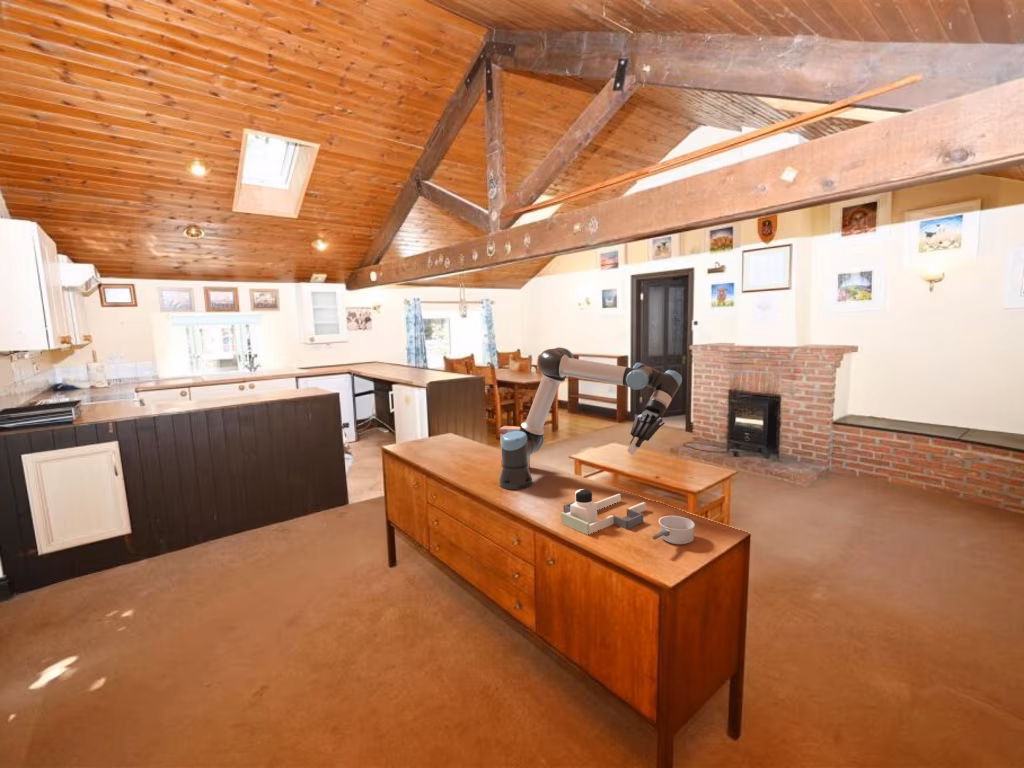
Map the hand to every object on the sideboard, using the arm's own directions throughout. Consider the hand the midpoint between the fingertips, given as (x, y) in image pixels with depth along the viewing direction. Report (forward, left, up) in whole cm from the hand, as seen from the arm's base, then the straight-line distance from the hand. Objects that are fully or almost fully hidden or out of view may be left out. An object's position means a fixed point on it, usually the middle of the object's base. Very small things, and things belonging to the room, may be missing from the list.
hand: (630, 452), depth 175 cm
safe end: (+12, -26, -22) cm, 36 cm away
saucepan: (+30, 0, -22) cm, 37 cm away
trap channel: (+5, -12, -22) cm, 25 cm away
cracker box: (-64, -34, -22) cm, 76 cm away
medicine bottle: (+8, -22, -22) cm, 32 cm away
